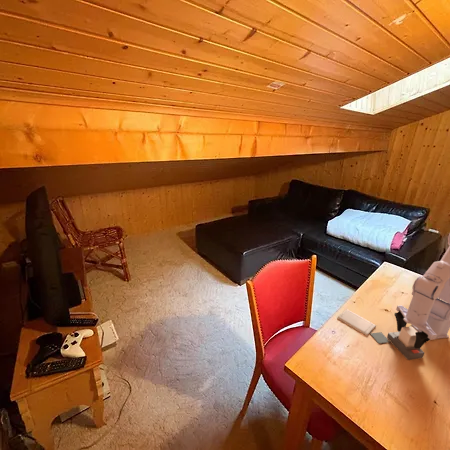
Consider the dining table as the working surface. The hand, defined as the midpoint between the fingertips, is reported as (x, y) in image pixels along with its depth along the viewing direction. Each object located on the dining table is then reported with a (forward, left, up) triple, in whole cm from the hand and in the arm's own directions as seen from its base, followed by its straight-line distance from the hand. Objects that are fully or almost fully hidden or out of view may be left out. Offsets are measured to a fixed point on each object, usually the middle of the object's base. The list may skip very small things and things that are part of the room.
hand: (408, 338), depth 89 cm
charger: (0, 0, -2) cm, 2 cm away
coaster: (+6, -6, -5) cm, 9 cm away
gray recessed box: (0, -1, -5) cm, 5 cm away
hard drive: (+10, -15, -6) cm, 19 cm away
